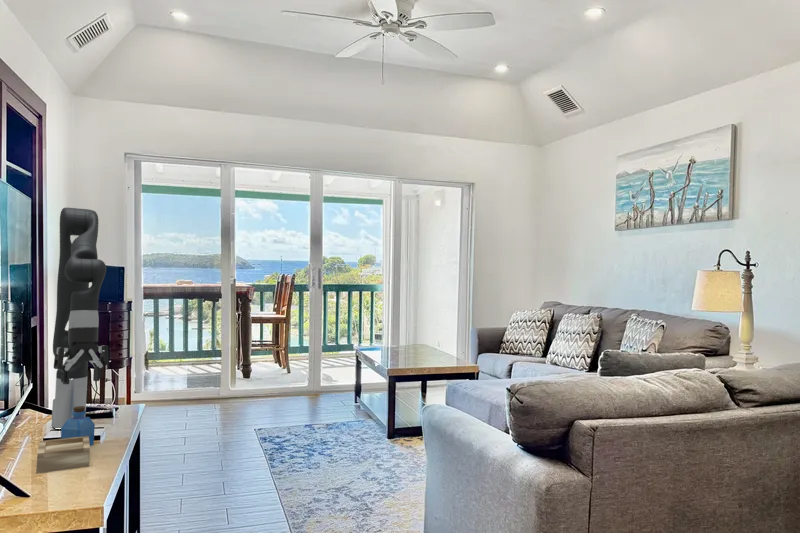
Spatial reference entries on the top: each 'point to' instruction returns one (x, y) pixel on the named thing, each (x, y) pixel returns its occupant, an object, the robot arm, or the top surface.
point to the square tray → (63, 454)
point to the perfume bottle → (78, 425)
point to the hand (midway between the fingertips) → (81, 382)
